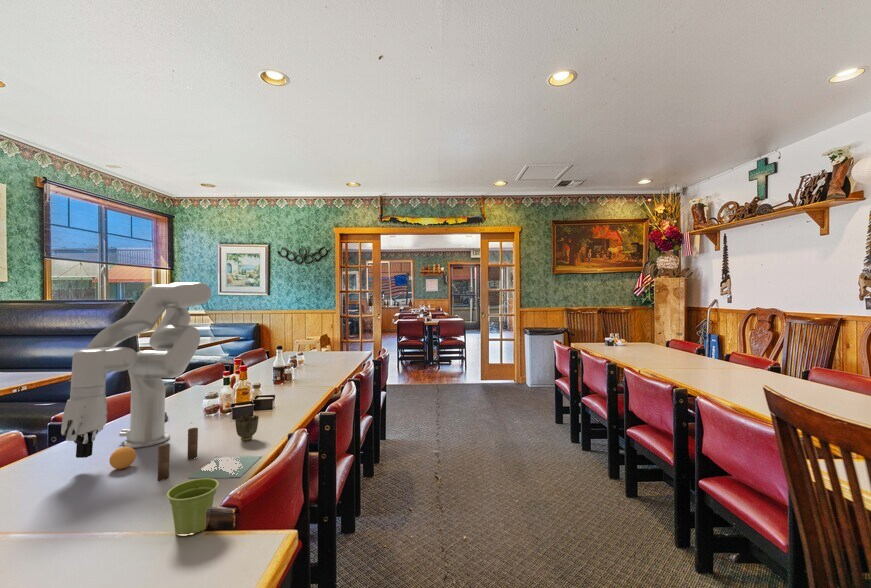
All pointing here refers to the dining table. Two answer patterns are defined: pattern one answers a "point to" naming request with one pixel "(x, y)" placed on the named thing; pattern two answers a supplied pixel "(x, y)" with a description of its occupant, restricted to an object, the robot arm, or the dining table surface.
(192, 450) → the post
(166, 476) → the post
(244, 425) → the cup
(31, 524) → the dining table surface
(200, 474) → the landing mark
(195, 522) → the plant pot
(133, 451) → the ball
